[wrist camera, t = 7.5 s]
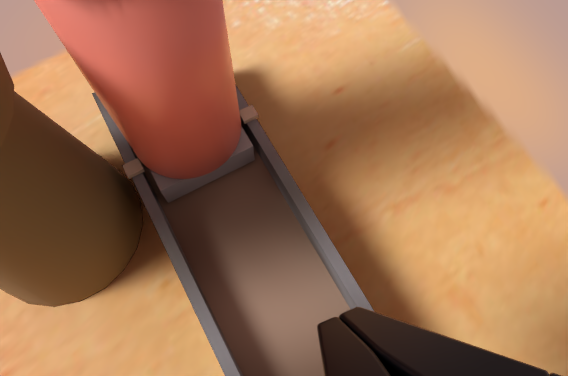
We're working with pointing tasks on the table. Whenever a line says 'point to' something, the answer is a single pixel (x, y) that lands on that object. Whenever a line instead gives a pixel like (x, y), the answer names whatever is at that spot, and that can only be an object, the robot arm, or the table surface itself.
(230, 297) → the track
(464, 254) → the table surface
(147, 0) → the plug
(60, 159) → the olive rounded upright piece
